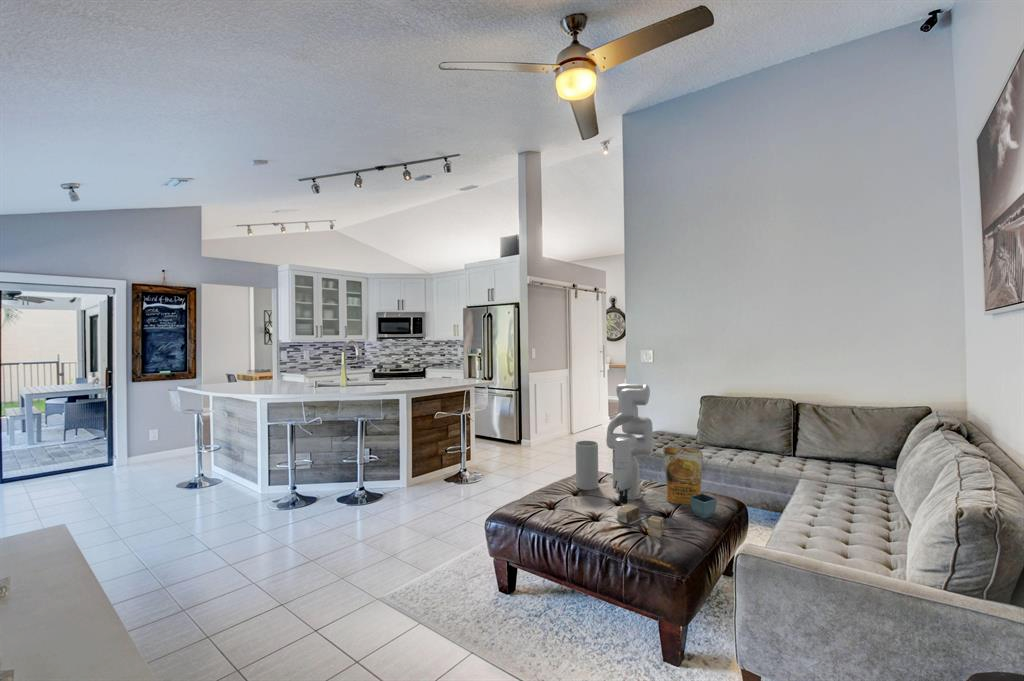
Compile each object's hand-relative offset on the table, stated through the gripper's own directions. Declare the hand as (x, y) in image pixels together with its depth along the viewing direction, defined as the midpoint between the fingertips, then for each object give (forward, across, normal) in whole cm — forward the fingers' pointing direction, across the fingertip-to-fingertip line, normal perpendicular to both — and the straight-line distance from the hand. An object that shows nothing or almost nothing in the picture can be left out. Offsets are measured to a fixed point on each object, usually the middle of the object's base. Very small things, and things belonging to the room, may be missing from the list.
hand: (623, 503), depth 227 cm
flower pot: (+9, -32, +22) cm, 40 cm away
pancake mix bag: (+9, -41, +6) cm, 42 cm away
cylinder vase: (+9, -23, -43) cm, 50 cm away
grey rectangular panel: (+9, -5, 0) cm, 10 cm away
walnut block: (+6, +2, 0) cm, 6 cm away
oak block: (+9, +1, +18) cm, 20 cm away
